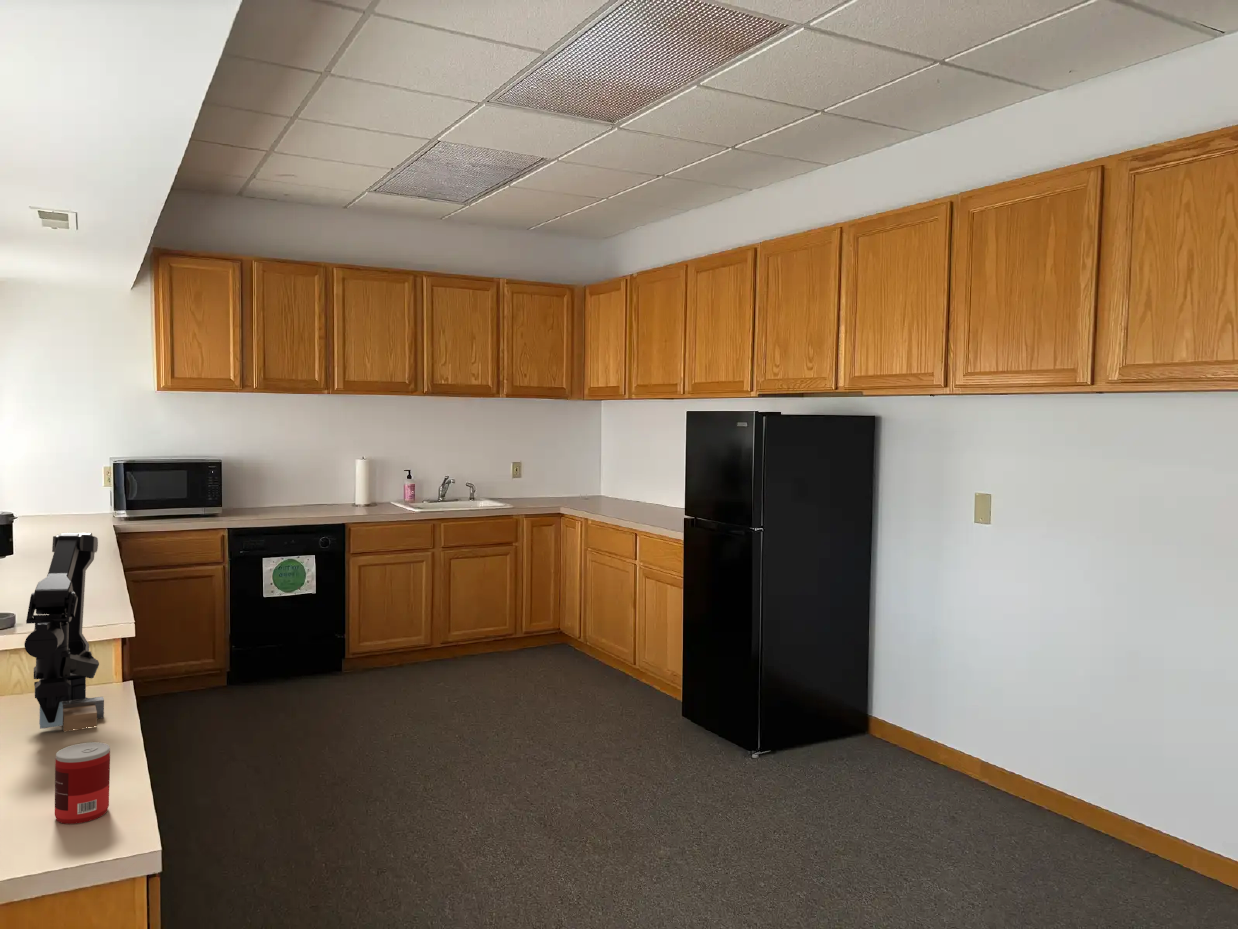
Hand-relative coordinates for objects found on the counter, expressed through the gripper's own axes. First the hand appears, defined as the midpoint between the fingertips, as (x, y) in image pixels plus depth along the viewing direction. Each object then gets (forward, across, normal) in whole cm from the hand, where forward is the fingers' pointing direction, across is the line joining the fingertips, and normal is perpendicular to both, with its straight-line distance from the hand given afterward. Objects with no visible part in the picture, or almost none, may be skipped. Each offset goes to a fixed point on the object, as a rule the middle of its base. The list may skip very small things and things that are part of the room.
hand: (51, 719), depth 187 cm
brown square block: (+3, +2, -5) cm, 6 cm away
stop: (+2, +6, -6) cm, 9 cm away
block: (+1, 0, 0) cm, 1 cm away
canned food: (+3, -48, -3) cm, 48 cm away
